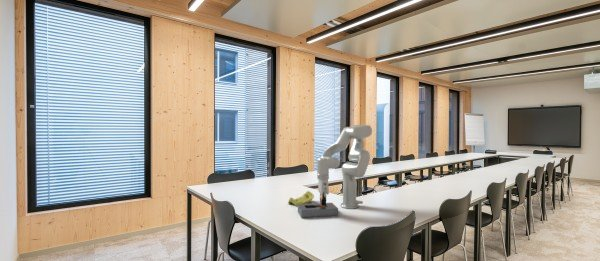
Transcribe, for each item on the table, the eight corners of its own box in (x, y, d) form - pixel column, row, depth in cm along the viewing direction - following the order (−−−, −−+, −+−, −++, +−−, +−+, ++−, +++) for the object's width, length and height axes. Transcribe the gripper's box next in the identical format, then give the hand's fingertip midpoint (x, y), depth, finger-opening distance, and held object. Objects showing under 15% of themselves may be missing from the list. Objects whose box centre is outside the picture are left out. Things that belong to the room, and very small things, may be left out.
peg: (325, 210, 190) (325, 194, 190) (327, 212, 185) (327, 196, 185) (318, 210, 189) (318, 194, 189) (320, 213, 184) (320, 196, 184)
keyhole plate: (331, 209, 195) (331, 202, 195) (338, 216, 181) (338, 208, 181) (297, 211, 191) (297, 204, 191) (301, 218, 177) (301, 210, 177)
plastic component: (299, 204, 200) (289, 196, 206) (296, 212, 203) (286, 204, 209) (316, 197, 215) (307, 189, 221) (313, 204, 218) (304, 197, 223)
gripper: (332, 178, 179) (332, 207, 179) (325, 174, 195) (325, 200, 196) (320, 179, 178) (320, 208, 178) (314, 174, 194) (314, 201, 194)
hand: (323, 204), depth 187 cm, fingers closed on peg, 3 cm apart
